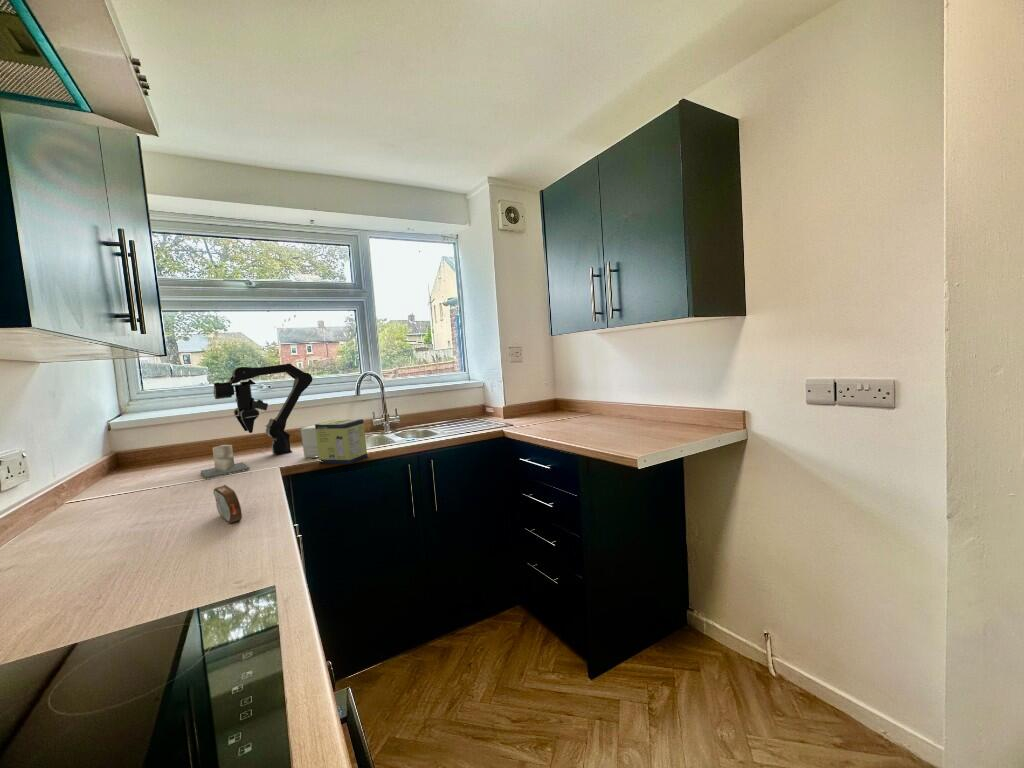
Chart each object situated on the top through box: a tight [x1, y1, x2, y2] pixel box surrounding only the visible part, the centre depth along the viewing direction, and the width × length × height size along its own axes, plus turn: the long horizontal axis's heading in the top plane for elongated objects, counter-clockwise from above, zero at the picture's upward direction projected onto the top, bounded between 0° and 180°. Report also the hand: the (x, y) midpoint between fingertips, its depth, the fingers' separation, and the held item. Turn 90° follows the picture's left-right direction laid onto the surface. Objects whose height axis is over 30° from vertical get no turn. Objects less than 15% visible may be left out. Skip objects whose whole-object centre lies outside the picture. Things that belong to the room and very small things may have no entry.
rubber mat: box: [200, 461, 251, 479], centre depth 167 cm, size 14×14×1 cm
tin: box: [213, 484, 243, 524], centre depth 113 cm, size 15×3×8 cm, turn 46°
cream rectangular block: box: [212, 444, 235, 471], centre depth 166 cm, size 4×4×9 cm
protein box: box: [314, 418, 368, 465], centre depth 170 cm, size 10×16×16 cm
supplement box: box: [300, 424, 319, 458], centre depth 182 cm, size 7×7×13 cm
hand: (248, 431), depth 185 cm, fingers open, 9 cm apart
